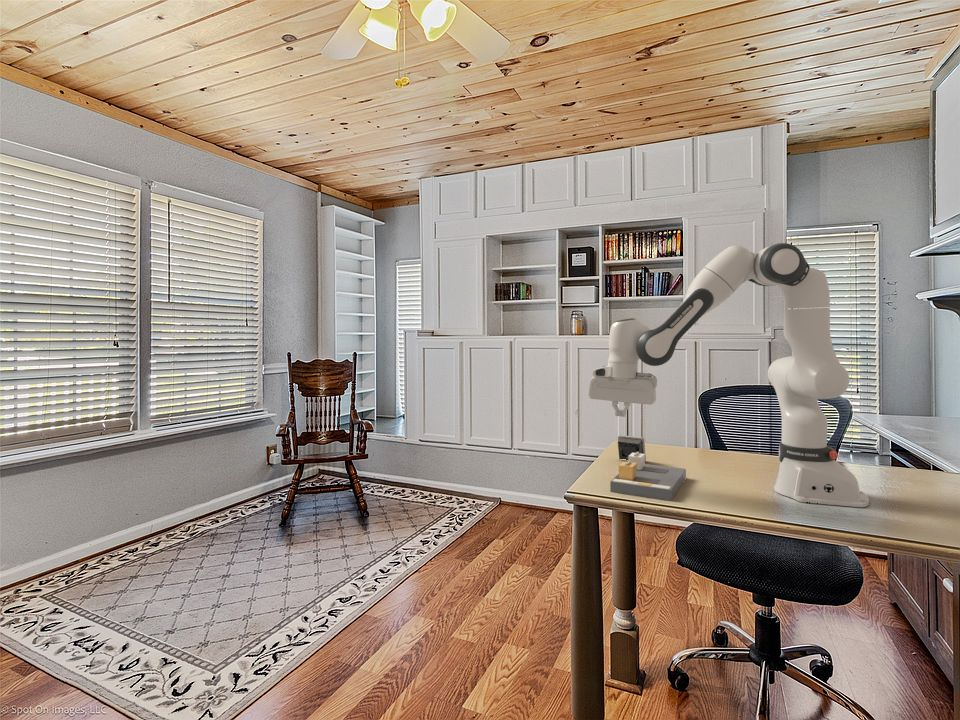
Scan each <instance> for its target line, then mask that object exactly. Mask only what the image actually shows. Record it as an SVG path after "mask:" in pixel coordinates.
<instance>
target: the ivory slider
mask: <svg viewBox="0 0 960 720" xmlns="http://www.w3.org/2000/svg"><path fill="white" fill-rule="evenodd" d="M645 455H646V453H645V454H641V453H639V452H636V453H631V454H630V455H629V456H628V461H631V462H633V463H637V470H641V469H642V468H643V467H644V466H645V464H646V460H645ZM628 461H627V462H628Z"/></svg>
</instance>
